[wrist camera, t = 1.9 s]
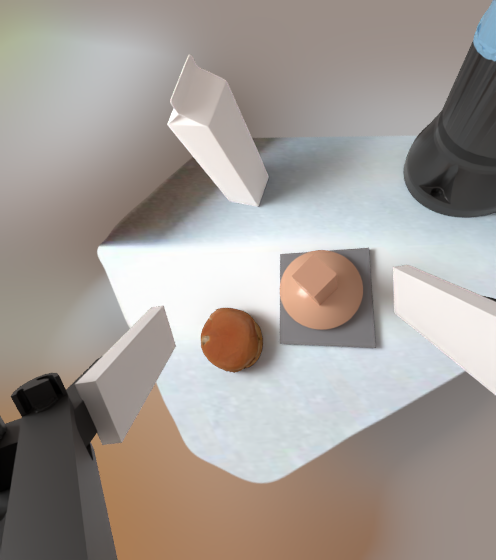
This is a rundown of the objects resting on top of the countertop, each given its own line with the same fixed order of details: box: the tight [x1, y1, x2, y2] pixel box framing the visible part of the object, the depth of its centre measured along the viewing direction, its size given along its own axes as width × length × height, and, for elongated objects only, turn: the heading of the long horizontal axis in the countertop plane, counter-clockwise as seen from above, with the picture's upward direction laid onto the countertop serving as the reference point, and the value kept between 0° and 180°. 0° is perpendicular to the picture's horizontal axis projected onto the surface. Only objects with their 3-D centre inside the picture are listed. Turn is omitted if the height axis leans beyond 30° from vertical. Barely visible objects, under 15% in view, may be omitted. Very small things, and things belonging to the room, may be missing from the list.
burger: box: [201, 308, 263, 373], centre depth 40 cm, size 10×9×5 cm
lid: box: [280, 250, 363, 330], centre depth 33 cm, size 12×12×10 cm
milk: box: [168, 54, 269, 207], centre depth 36 cm, size 6×6×22 cm
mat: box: [280, 248, 376, 348], centre depth 38 cm, size 13×14×1 cm
